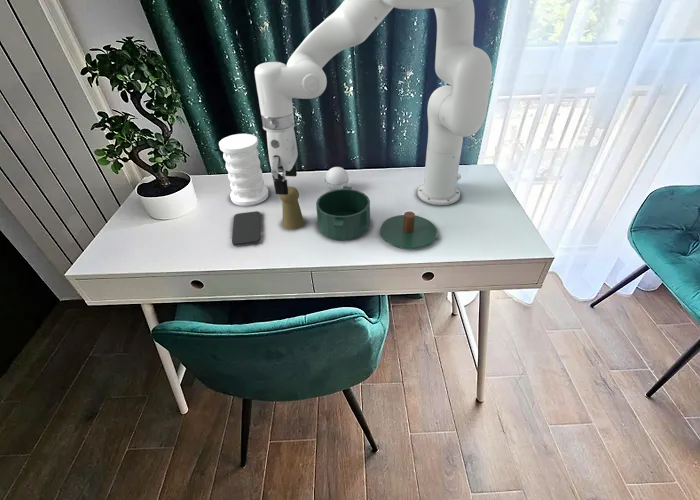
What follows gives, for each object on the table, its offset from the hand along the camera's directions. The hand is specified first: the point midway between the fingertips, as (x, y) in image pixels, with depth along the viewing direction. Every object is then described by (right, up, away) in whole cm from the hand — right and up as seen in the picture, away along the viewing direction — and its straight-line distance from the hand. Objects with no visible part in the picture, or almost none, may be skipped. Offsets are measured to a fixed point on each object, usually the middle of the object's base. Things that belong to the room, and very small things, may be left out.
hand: (286, 184), depth 105 cm
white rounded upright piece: (+13, +1, +21) cm, 25 cm away
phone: (-12, -11, +6) cm, 18 cm away
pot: (+15, -10, +6) cm, 19 cm away
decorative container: (-15, 0, +21) cm, 25 cm away
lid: (+32, -12, +2) cm, 34 cm away
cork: (+1, -10, +8) cm, 13 cm away
